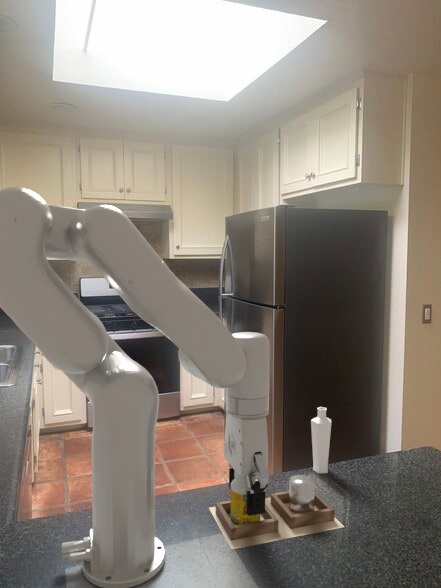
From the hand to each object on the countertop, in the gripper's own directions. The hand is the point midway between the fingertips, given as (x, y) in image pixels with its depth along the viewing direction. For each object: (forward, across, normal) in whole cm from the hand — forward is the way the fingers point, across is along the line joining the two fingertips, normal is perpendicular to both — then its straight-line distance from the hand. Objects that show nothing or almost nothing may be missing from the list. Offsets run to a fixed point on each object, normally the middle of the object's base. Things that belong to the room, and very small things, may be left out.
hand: (246, 500), depth 79 cm
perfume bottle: (+5, -14, +24) cm, 28 cm away
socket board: (+5, 0, +6) cm, 7 cm away
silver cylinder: (+4, 0, +11) cm, 12 cm away
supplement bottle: (+4, 0, 0) cm, 4 cm away
